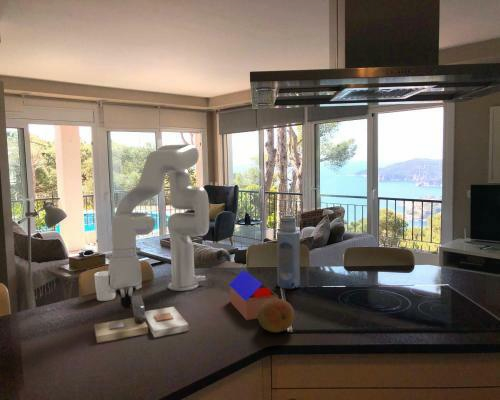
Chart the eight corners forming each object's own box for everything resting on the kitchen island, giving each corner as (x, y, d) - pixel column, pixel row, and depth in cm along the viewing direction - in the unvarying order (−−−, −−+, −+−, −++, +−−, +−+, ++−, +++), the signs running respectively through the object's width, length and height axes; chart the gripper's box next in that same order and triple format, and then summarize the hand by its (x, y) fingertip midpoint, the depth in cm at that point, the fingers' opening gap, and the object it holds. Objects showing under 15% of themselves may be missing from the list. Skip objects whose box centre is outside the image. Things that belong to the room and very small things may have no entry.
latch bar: (145, 322, 122) (145, 307, 121) (134, 323, 121) (134, 308, 120) (142, 308, 134) (141, 294, 134) (132, 309, 133) (131, 296, 133)
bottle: (274, 287, 163) (273, 216, 161) (281, 281, 172) (280, 213, 170) (296, 289, 159) (295, 216, 157) (302, 283, 169) (301, 213, 166)
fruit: (266, 341, 111) (265, 307, 111) (249, 326, 123) (248, 294, 122) (301, 334, 116) (301, 301, 115) (281, 319, 128) (281, 289, 127)
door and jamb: (173, 312, 136) (173, 305, 136) (188, 330, 120) (188, 322, 120) (93, 326, 125) (93, 318, 125) (98, 348, 109) (97, 339, 109)
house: (259, 298, 150) (258, 268, 150) (279, 316, 131) (279, 281, 131) (229, 302, 147) (228, 271, 146) (245, 321, 128) (245, 286, 127)
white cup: (91, 300, 152) (89, 274, 151) (107, 294, 159) (105, 269, 158) (105, 302, 148) (104, 276, 147) (121, 296, 155) (120, 271, 154)
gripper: (142, 248, 136) (144, 300, 137) (97, 253, 127) (99, 309, 128) (150, 252, 130) (151, 306, 131) (103, 257, 121) (105, 315, 122)
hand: (126, 307), depth 129 cm, fingers closed
